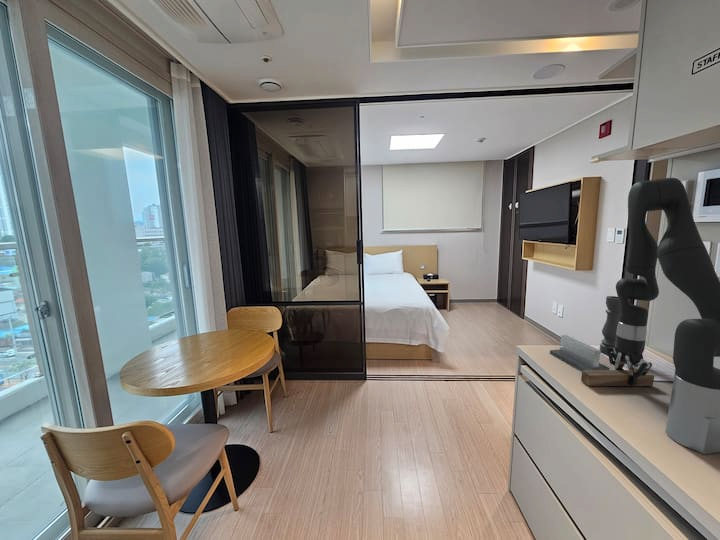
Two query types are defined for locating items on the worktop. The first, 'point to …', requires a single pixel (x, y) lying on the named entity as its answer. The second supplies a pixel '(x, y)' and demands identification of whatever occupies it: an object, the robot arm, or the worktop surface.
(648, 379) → the walnut beam
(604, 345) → the candle holder
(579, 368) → the stand
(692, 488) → the worktop surface
